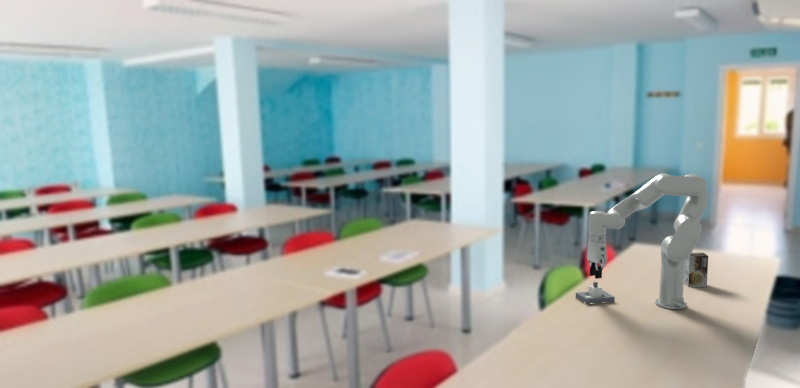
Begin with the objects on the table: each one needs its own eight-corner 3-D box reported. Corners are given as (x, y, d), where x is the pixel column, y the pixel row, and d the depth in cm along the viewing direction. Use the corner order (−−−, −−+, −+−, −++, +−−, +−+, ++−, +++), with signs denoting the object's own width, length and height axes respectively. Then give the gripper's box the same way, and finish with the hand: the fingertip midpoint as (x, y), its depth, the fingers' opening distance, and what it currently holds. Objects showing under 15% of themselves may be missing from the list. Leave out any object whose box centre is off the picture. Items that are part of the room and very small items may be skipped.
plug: (601, 300, 263) (602, 283, 262) (593, 300, 262) (593, 284, 261) (596, 297, 267) (597, 280, 266) (588, 297, 266) (588, 281, 265)
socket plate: (614, 302, 261) (614, 295, 261) (586, 304, 259) (586, 298, 258) (602, 295, 271) (602, 289, 271) (575, 297, 268) (575, 291, 268)
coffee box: (701, 283, 288) (703, 252, 285) (707, 287, 281) (709, 255, 279) (682, 283, 289) (684, 252, 286) (687, 286, 282) (689, 255, 280)
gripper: (614, 241, 253) (613, 281, 256) (594, 234, 269) (593, 271, 272) (599, 242, 252) (597, 282, 254) (580, 234, 268) (579, 272, 271)
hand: (595, 276), depth 263 cm, fingers open, 3 cm apart
